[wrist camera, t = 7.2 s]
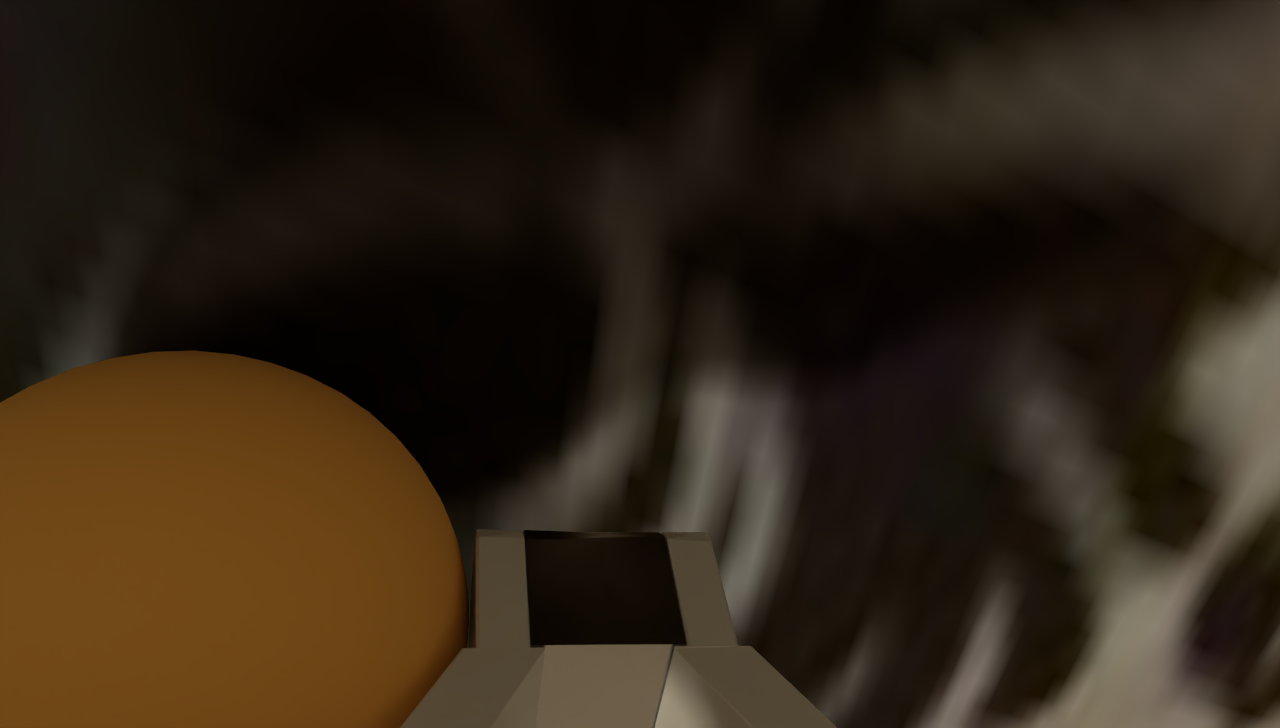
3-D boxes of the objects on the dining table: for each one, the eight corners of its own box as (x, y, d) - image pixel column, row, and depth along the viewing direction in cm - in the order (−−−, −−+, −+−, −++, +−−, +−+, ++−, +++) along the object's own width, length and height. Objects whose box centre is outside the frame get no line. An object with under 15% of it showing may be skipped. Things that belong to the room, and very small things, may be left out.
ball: (381, 366, 14) (-107, 415, 12) (491, 276, 9) (-311, 331, 7) (436, 783, 14) (-63, 917, 12) (583, 924, 9) (-250, 1213, 7)
